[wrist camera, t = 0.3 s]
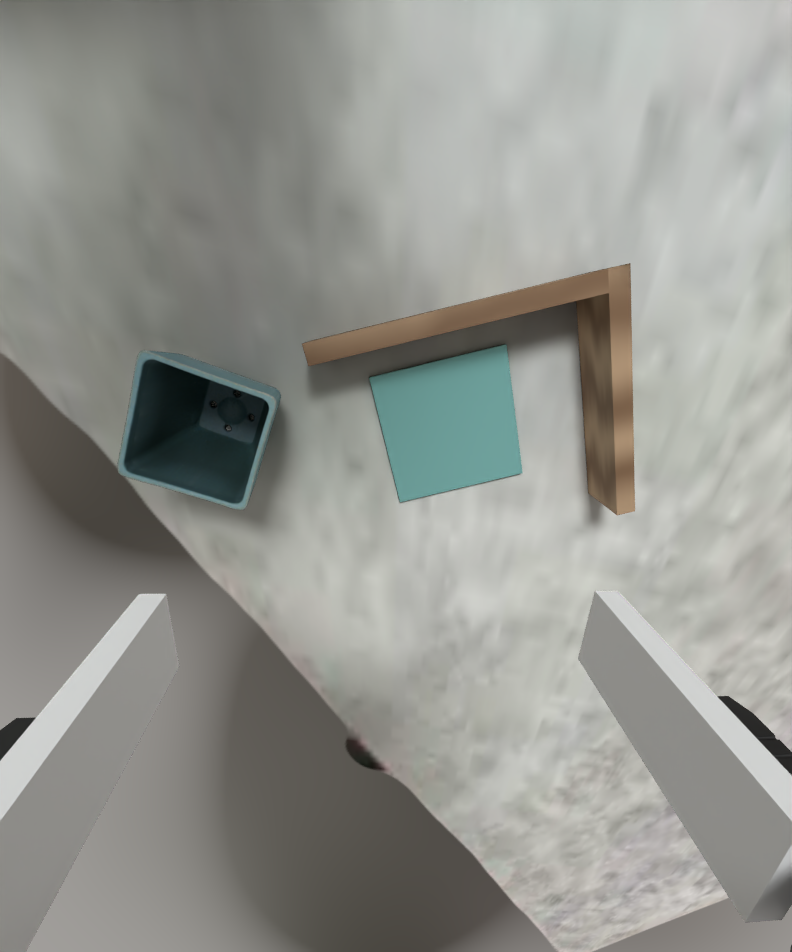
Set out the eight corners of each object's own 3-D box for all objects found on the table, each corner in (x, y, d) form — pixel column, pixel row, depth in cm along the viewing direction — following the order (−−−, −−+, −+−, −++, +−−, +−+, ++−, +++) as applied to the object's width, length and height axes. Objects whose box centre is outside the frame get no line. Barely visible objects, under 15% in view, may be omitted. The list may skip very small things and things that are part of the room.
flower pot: (299, 379, 35) (278, 398, 27) (271, 471, 38) (244, 513, 30) (194, 340, 34) (137, 347, 25) (172, 439, 36) (114, 474, 28)
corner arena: (310, 340, 34) (301, 343, 30) (593, 271, 34) (630, 263, 29) (369, 545, 41) (370, 573, 37) (604, 489, 41) (634, 510, 36)
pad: (369, 377, 36) (369, 377, 35) (504, 344, 35) (506, 344, 35) (399, 500, 40) (400, 502, 40) (521, 471, 40) (522, 473, 39)
